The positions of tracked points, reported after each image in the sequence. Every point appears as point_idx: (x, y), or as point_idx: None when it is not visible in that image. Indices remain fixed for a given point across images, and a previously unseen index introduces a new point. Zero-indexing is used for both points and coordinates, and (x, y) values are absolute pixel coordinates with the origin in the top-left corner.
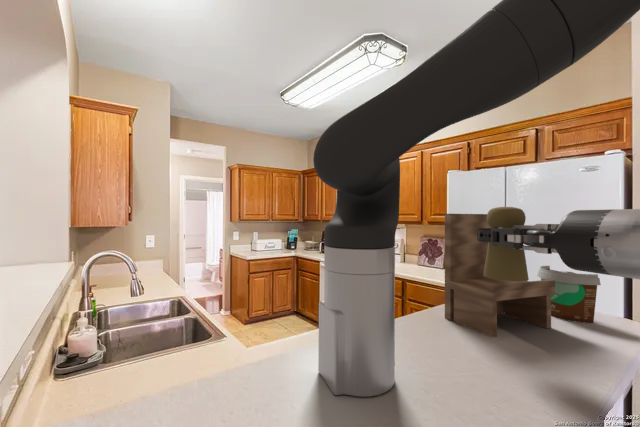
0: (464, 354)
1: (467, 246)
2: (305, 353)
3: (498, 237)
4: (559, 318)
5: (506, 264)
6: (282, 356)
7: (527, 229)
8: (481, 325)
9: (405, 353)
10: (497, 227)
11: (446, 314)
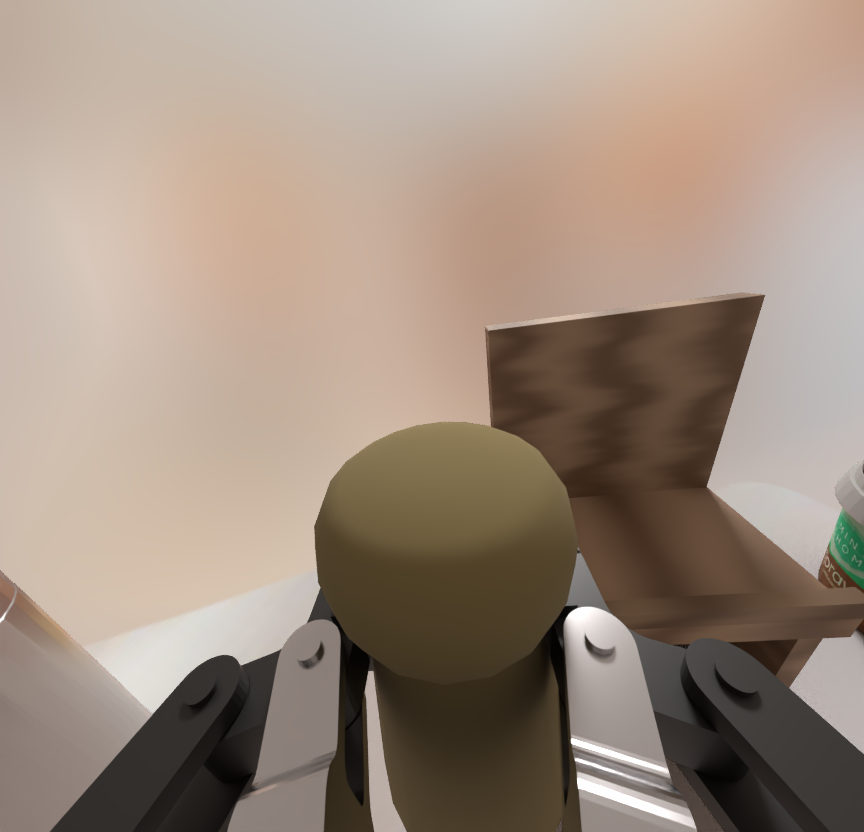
0: (375, 784)
1: (558, 421)
2: (132, 647)
3: (207, 765)
4: (858, 629)
5: (396, 778)
6: (96, 647)
7: (567, 681)
8: None
9: None
10: (195, 704)
11: None
